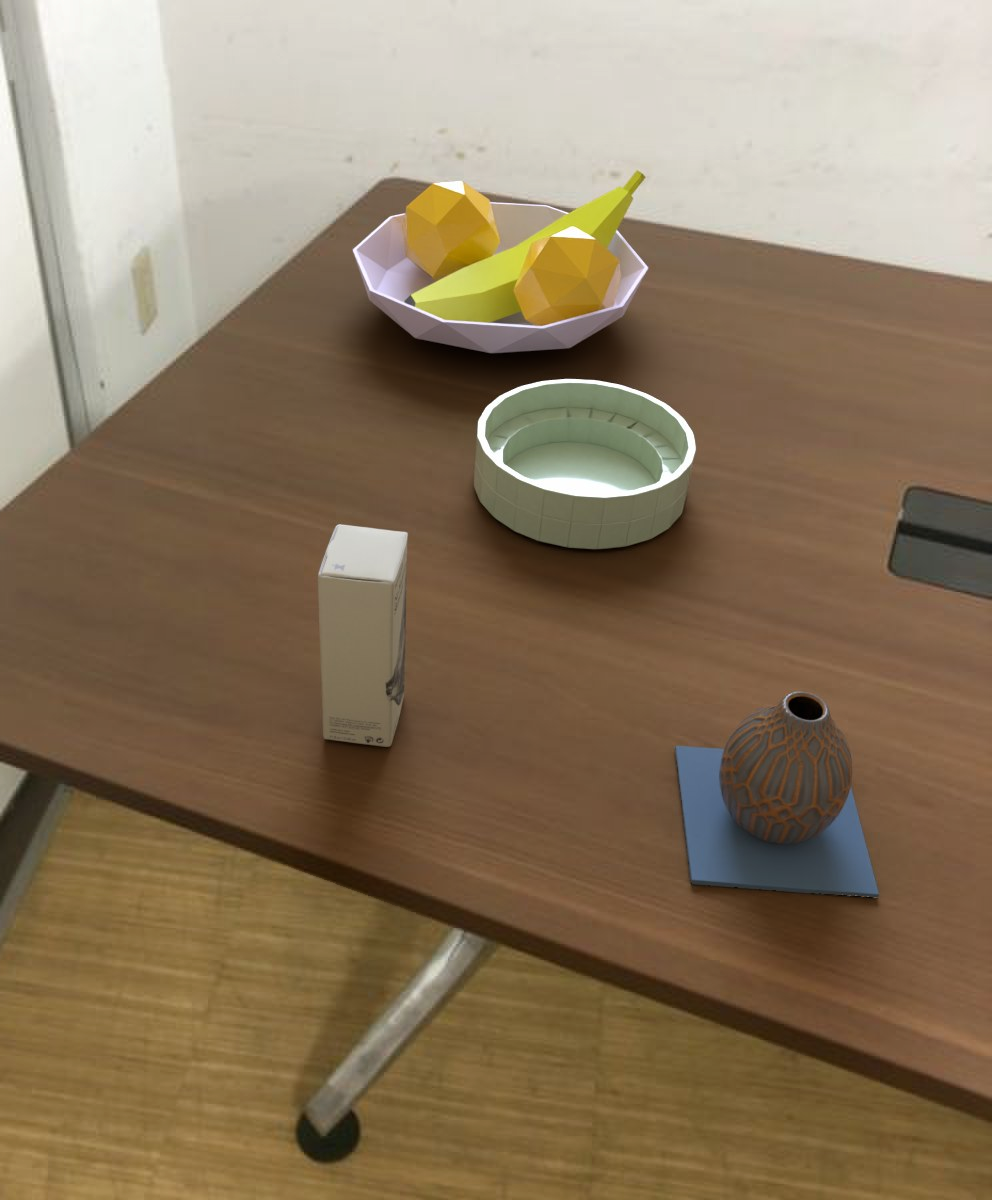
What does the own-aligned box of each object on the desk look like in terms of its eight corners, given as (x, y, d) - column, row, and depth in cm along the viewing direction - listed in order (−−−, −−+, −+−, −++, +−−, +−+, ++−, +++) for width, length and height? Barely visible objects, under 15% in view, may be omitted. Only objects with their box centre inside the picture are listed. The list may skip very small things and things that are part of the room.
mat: (842, 761, 75) (843, 757, 75) (877, 899, 67) (879, 894, 67) (674, 749, 75) (675, 745, 75) (690, 884, 68) (691, 879, 67)
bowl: (674, 438, 102) (684, 385, 99) (694, 560, 90) (706, 503, 86) (477, 426, 103) (480, 373, 100) (469, 546, 90) (473, 489, 87)
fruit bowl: (390, 403, 105) (393, 278, 98) (336, 265, 126) (334, 153, 118) (700, 373, 110) (724, 252, 103) (599, 244, 130) (613, 136, 123)
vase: (726, 755, 75) (756, 647, 69) (844, 794, 72) (884, 686, 67) (695, 836, 70) (724, 727, 64) (820, 881, 67) (861, 772, 62)
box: (391, 751, 75) (395, 586, 67) (320, 741, 75) (314, 577, 67) (406, 691, 79) (411, 528, 71) (338, 682, 79) (335, 519, 71)
